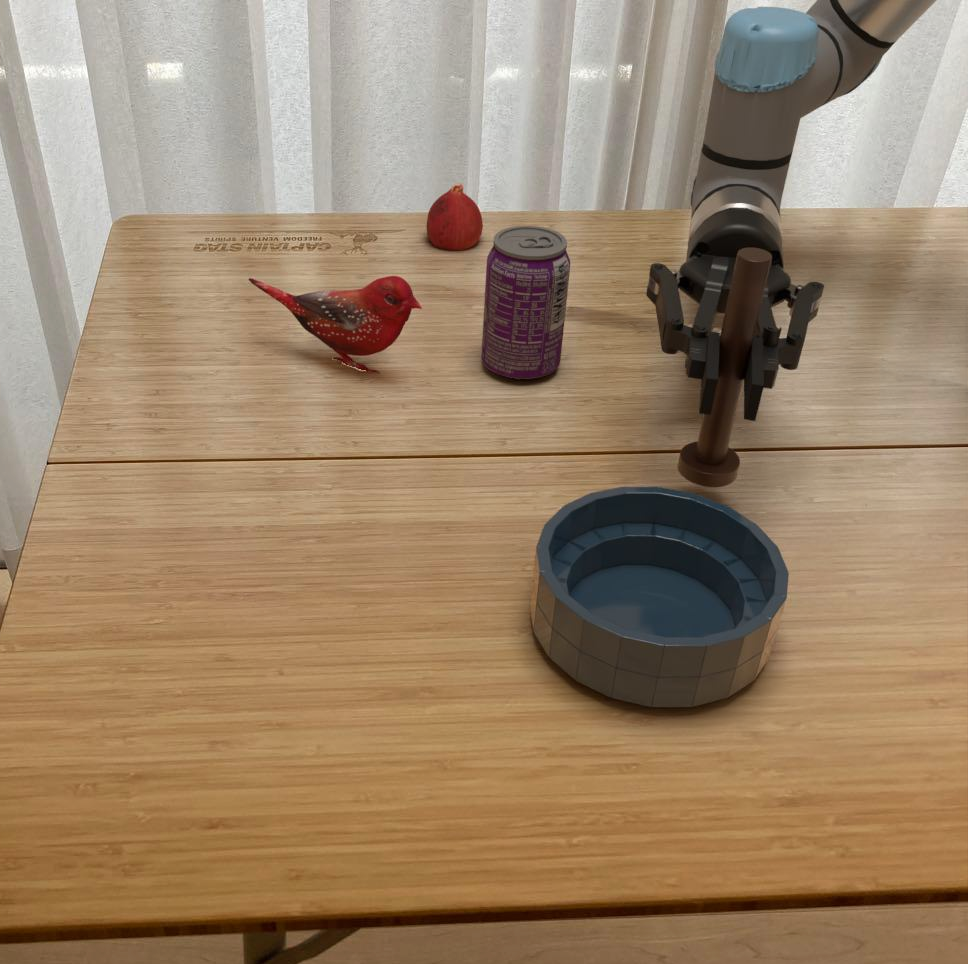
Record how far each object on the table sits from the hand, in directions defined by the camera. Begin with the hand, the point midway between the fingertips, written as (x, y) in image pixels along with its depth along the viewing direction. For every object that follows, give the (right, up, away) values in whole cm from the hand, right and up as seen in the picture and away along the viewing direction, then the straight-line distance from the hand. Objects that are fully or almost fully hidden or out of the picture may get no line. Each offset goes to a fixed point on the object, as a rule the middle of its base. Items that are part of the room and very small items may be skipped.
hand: (731, 399), depth 73 cm
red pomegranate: (-17, +21, +45) cm, 53 cm away
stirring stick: (+1, -4, +10) cm, 11 cm away
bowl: (-5, -15, +1) cm, 16 cm away
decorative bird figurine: (-28, +7, +28) cm, 40 cm away
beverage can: (-11, +6, +28) cm, 31 cm away
